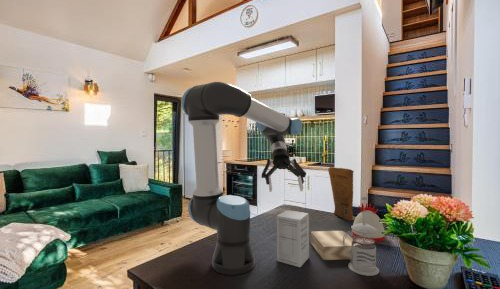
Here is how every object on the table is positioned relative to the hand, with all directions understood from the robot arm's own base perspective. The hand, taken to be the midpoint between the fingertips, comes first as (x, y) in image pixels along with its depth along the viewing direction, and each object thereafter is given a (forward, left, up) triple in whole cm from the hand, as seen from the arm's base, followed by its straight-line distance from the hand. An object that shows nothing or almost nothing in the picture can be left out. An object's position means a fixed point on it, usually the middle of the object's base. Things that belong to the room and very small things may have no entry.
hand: (286, 189), depth 108 cm
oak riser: (+17, -10, -22) cm, 30 cm away
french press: (+21, -23, -23) cm, 39 cm away
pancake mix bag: (+39, +32, -23) cm, 55 cm away
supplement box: (-1, -16, -23) cm, 28 cm away
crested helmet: (+39, +4, -23) cm, 45 cm away
